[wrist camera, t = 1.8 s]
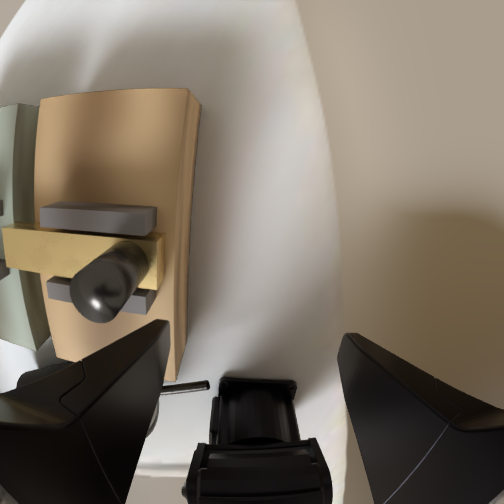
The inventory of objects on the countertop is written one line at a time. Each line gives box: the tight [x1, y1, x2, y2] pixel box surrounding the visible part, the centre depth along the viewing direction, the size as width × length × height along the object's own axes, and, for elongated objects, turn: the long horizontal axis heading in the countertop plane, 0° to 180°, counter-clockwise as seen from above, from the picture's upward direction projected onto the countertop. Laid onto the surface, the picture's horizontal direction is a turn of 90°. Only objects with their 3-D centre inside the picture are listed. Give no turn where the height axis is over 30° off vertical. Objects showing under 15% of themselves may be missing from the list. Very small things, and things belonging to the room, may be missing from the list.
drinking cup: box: [16, 361, 210, 437], centre depth 20 cm, size 8×8×20 cm
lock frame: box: [0, 88, 201, 382], centre depth 16 cm, size 20×17×7 cm
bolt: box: [2, 221, 165, 323], centre depth 12 cm, size 10×2×5 cm, turn 84°
